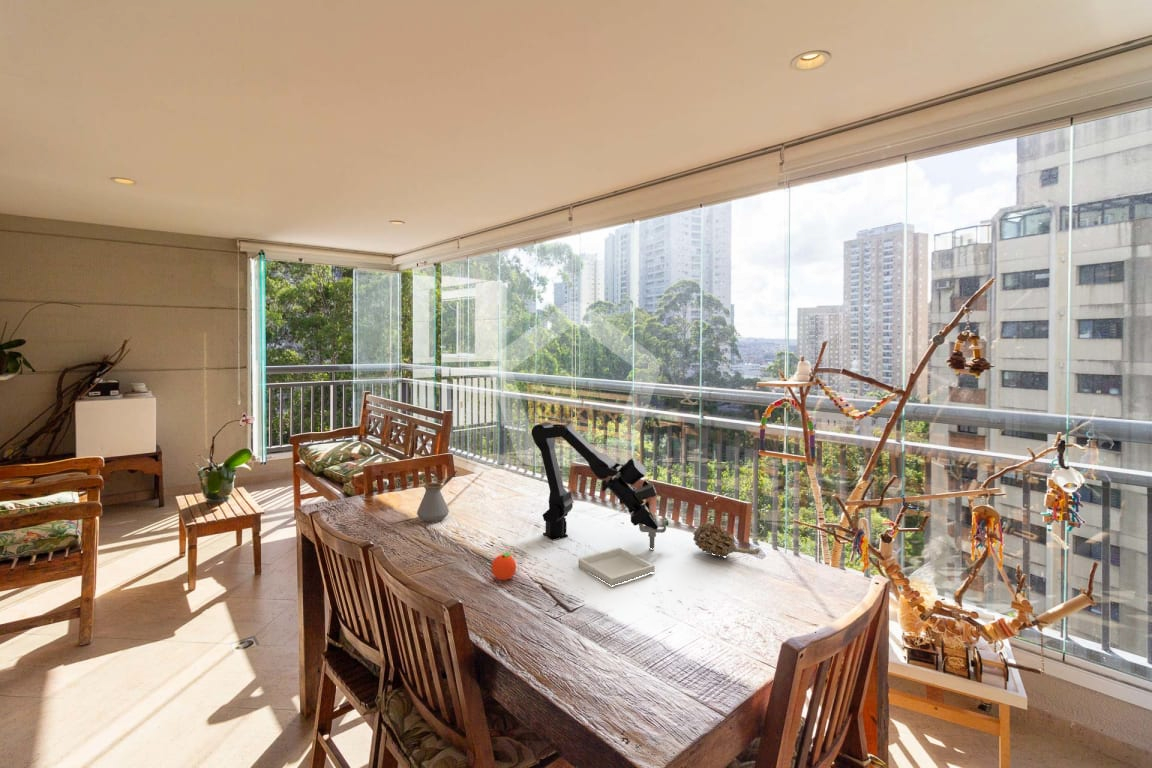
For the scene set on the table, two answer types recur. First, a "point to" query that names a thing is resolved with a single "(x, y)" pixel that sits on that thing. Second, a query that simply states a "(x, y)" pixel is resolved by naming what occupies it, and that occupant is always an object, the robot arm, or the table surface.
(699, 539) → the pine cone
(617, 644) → the table surface
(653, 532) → the mechanical component
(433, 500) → the coffee pot
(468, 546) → the table surface
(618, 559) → the parts tray
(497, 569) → the clementine
